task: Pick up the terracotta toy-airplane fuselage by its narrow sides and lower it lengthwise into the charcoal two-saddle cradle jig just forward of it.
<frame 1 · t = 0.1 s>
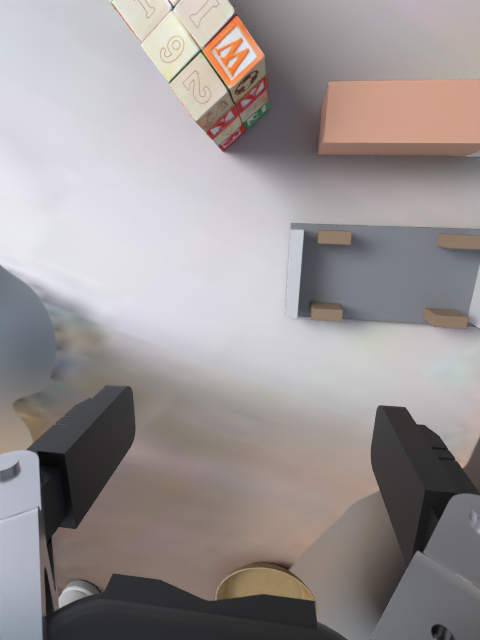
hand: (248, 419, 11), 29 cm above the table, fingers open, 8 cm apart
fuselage: (403, 130, 34), on the table
cradle jig: (382, 274, 38), on the table
stack of blocks: (181, 38, 34), on the table
travel mug: (85, 591, 58), on the table
plant saucer: (266, 587, 53), on the table
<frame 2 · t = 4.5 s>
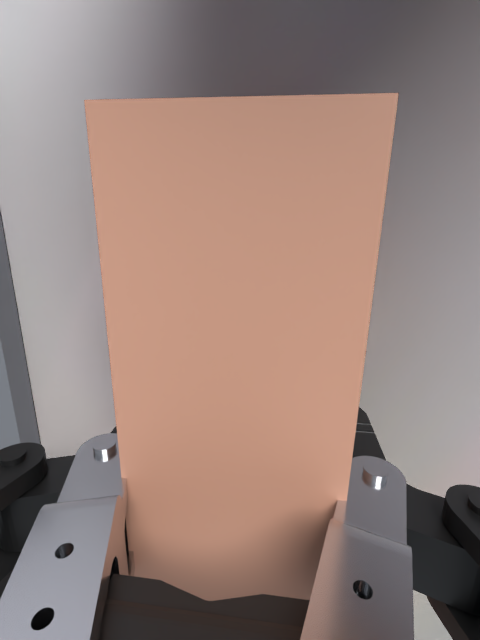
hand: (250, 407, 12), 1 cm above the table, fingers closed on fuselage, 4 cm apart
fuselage: (253, 395, 13), on the table, touching gripper
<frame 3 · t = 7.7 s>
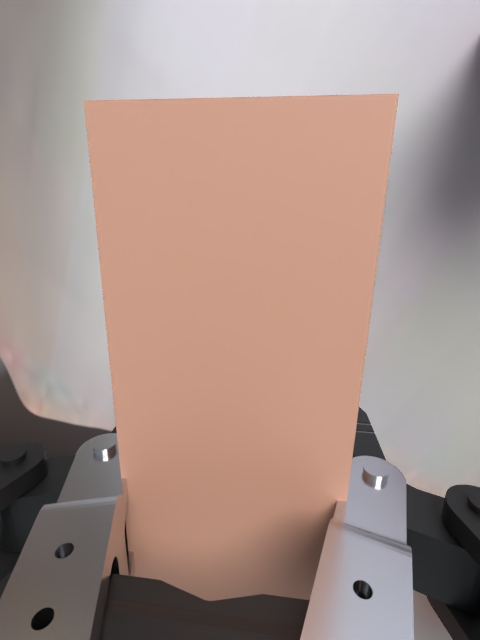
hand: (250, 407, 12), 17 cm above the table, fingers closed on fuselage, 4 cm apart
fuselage: (253, 395, 13), point 17 cm above the table, touching gripper
when the fingers open (3 cm above the table, at t = 10.7 s): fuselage drops 1 cm, resting on cradle jig.
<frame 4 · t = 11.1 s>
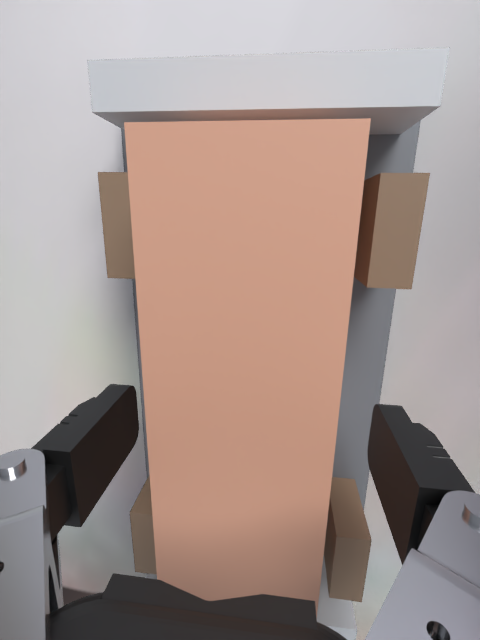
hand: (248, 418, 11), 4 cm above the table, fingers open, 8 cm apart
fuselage: (255, 377, 14), point 1 cm above the table, touching cradle jig
cradle jig: (257, 368, 15), on the table
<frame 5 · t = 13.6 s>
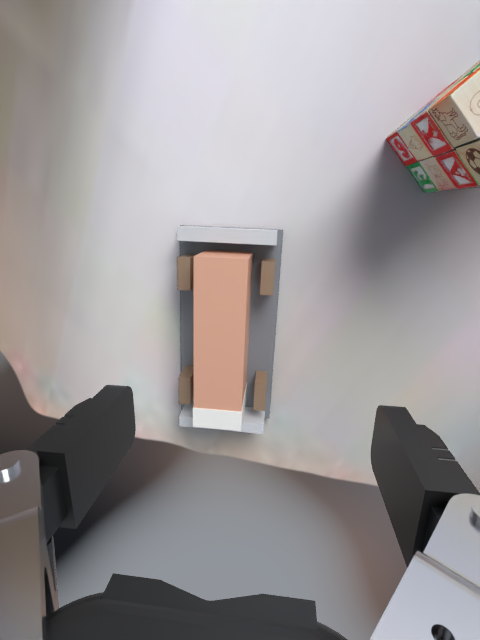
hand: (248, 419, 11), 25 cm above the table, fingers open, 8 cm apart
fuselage: (227, 328, 36), point 1 cm above the table, touching cradle jig
cradle jig: (228, 325, 37), on the table
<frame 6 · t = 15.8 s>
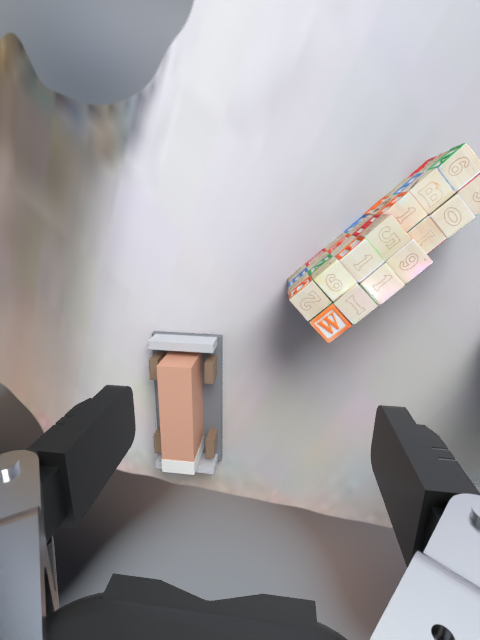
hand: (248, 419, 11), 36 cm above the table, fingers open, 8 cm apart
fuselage: (188, 399, 52), point 1 cm above the table, touching cradle jig
cradle jig: (189, 396, 53), on the table
stack of blocks: (367, 241, 44), on the table
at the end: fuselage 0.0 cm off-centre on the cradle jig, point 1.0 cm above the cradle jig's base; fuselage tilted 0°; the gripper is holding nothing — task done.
